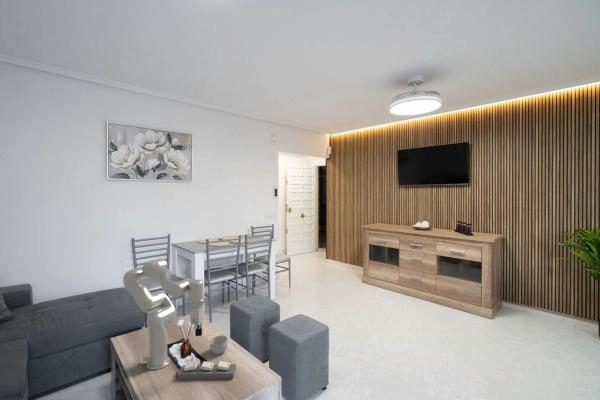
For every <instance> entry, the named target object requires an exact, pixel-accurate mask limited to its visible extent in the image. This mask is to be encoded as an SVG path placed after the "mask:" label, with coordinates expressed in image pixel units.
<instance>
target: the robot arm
mask: <svg viewBox="0 0 600 400" xmlns="http://www.w3.org/2000/svg"><path fill="white" fill-rule="evenodd" d="M171 277H172V270H171V269H169V268H168V262H167V261H166V260H165V259H162V258H157V259H153V260H149V261H147V262H145V263H144V264H143V265H142V266H139V267H135V268H133V269H131V270H128V271H127V272H125V273H124V275H123V278H122V282H123V287H124V288H125V290H126V291H127V292H128V293H129V294H130V295H131V296H132V298H133V299H134V301H135V302H136V303H137V305H138V307H139V308H140V310H141V311H142V312H143V313H145V314H146V313H150V312H151V313H150V314H148V316H147V318H146V325H147V329H148V349H149V350H148V351H149V352H148V353H149V354H148V355H144V356H143V357H142V362H146V363H145V364H146V368H147V370H151V371H152V370H153V371H155V370H160V369H162V368H165V367H167V366H168V365H169V364H170V362H171V357H169V356H168V331H167V329H166V328H165V325H166V324H169V322H171V321H173V320H174V319H176V317H177V314H178V313H177V312H178V311H177V308H176V307H175V305H174V304H173V302H172V301H171V300H170V298H169V297H168V295H169V296H171V297H174V298H175V297H176V298H178V297H181V296H184V295H185V294H188V295H189V307H190V310H189V311H190V314H189V315H190V317H189V318H190V319H189V321H190V326H191V327H192V326H193V330H195V331H194V333H195V337H201V336H202V335H203V323H202V322H203V321H204V319H205V309H204V306H205V295H204V294H205V293H204V282H203V280H202V279H194V278H190V277H188V278H185V279H182V280H179V281H177V282H173V281H172V280H170V279H171ZM148 279H153V280H154V281H157V282H158V283H159V284H160V288H161V289H162V291H161V290H158V291H155V292H151V291H150V290H149V288H148V287H147V286H146V285H144V284H143V283H140V282H143V281H145V280H148ZM167 294H168V295H167Z"/></svg>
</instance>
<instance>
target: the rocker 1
mask: <svg viewBox="0 0 600 400" xmlns="http://www.w3.org/2000/svg"><path fill="white" fill-rule="evenodd" d="M185 365H186V366H185V368H184V371H189V370H193V369H196V367H197V365H199V361H194V362H193V361H192V362H189V363H186V364H185Z"/></svg>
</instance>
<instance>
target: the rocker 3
mask: <svg viewBox="0 0 600 400" xmlns="http://www.w3.org/2000/svg"><path fill="white" fill-rule="evenodd" d="M230 364H231V362H228V361H221V360H220V361H219V363H218V364H217V365H218V368H217V369H222V370H229V367H230Z"/></svg>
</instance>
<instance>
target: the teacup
mask: <svg viewBox="0 0 600 400" xmlns="http://www.w3.org/2000/svg"><path fill="white" fill-rule="evenodd" d="M209 346H210V351H211V353H212V354H214V355H221V354H223V353H225V351H226V350H227V349H228V337H227V335H224V334H223V333H221V334H220V335H217V336H214V337H212V338H211V339H210V340H209Z"/></svg>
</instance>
